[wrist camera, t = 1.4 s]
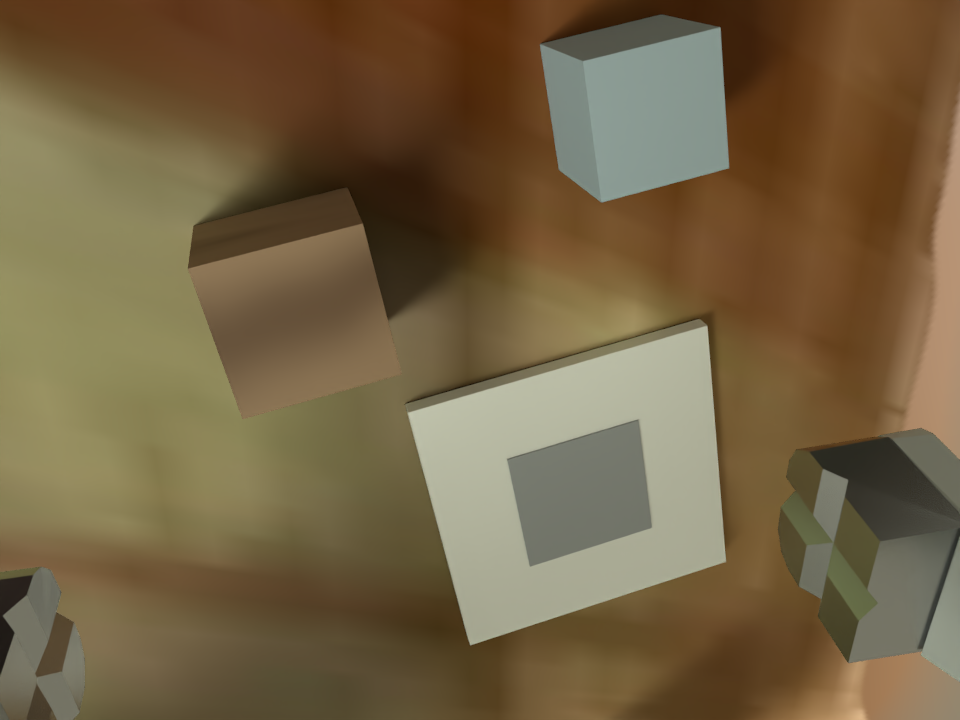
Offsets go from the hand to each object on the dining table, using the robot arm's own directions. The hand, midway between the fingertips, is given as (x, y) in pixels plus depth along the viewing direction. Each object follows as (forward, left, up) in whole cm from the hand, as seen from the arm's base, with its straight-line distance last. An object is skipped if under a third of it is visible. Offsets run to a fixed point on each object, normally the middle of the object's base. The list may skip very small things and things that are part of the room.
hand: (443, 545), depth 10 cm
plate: (-20, -8, -27) cm, 35 cm away
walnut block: (-6, +2, -27) cm, 28 cm away
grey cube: (-2, -12, -27) cm, 30 cm away
